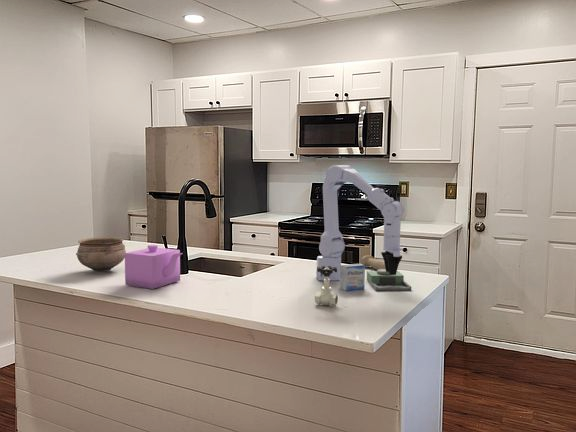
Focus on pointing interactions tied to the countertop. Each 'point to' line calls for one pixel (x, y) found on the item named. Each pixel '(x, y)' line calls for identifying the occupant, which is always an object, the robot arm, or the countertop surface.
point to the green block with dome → (384, 277)
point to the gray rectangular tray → (391, 287)
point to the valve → (326, 288)
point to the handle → (372, 262)
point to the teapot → (152, 267)
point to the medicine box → (352, 277)
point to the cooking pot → (101, 253)
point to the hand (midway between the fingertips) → (390, 273)
